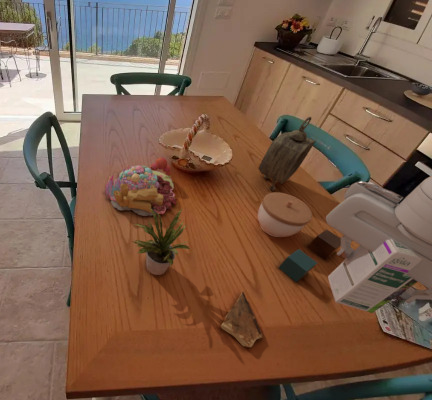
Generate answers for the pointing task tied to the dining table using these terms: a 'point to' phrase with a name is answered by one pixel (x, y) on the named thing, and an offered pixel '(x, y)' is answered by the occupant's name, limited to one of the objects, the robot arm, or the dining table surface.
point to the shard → (242, 323)
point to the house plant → (161, 245)
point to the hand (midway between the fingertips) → (371, 275)
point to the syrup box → (373, 276)
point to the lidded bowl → (283, 214)
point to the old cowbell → (286, 155)
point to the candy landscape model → (143, 189)
